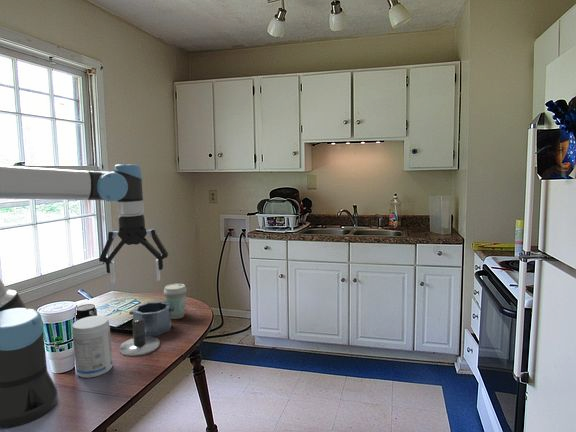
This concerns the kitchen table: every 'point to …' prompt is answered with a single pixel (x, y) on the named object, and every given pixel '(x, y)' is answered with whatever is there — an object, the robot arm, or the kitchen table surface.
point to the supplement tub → (92, 346)
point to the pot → (154, 317)
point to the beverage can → (86, 311)
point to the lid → (139, 341)
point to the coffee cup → (176, 299)
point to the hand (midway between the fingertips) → (136, 281)
